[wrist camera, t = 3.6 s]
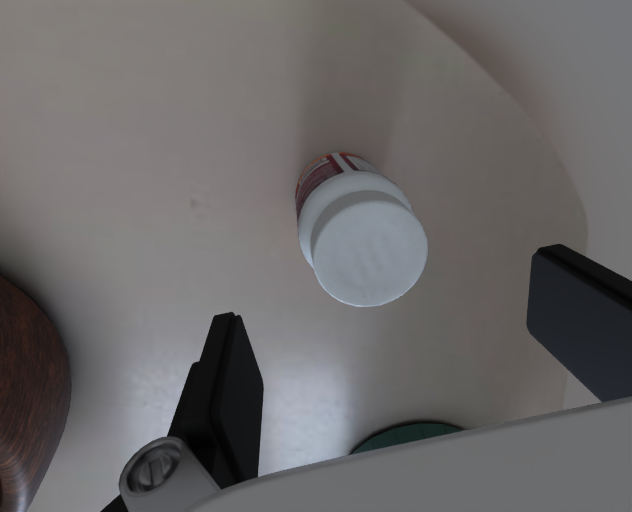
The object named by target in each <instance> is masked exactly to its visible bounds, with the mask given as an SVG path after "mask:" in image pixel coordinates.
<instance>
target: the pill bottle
mask: <svg viewBox="0 0 632 512" xmlns="http://www.w3.org/2000/svg"><path fill="white" fill-rule="evenodd" d="M295 199H296V212H297V223H298V237H299V242H300V246H301V249H302V252H303V254H304V256H305V258H306V259H307V261H308V262H309V264H310V265H311V266H312V267H313V268H314V271H315V275H316V277H317V279H318V281H319V283H320V284H321V285H322V287H323V288H324V289H325V290H326V291H327V292H328V293H329V294H330V295H331V296H332V297H334V298H335V299H337V300H339V301H341V302H343V303H346V304H349V305H353V306H359V307H370V306H377V305H382V304H385V303H388V302H390V301H393V300H395V299H396V298H398V297H400V296H401V295H403V294H404V293H405V292H406V291H408V290H409V289H410V288H411V287H412V286H413V285H414V284H415V282H416V281H417V280H418V278H419V277H420V275H421V273H422V271H423V269H424V266H425V263H426V260H427V254H428V242H427V237H426V234H425V231H424V229H423V227H422V225H421V223H420V222H419V220H418V219H417V218H416V217H415V215H414V214H413V212H412V208H411V206H410V203H409V201H408V199H407V198H406V196H405V195H404V193H403V192H402V191H401V190H400V189H399V187H398V186H397V185H396V184H395V183H393V182H392V181H391V180H389V179H388V178H387V177H386V176H384V175H383V174H382V173H381V172H379V171H378V170H377V169H375V168H374V167H373V166H372V165H370V164H369V163H368V162H367V161H365V160H364V159H362V158H360V157H358V156H356V155H354V154H350V153H345V152H334V153H329V154H326V155H323V156H321V157H318V158H317V159H315V160H314V161H313V162H311V163H310V164H309V165H308V166H307V167H306V169H305V170H304V171H303V173H302V174H301V176H300V178H299V181H298V184H297V188H296V195H295Z"/></svg>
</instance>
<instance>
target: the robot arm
mask: <svg viewBox="0 0 632 512" xmlns="http://www.w3.org/2000/svg"><path fill="white" fill-rule="evenodd" d="M526 324H527V328H528V331H529V332H530V334H531V335H532V336H533V337H534V338H535V339H536V340H537V341H538V342H540V343H541V344H542V345H543V346H544V347H545V348H546V349H547V350H548V351H549V352H550V353H551V354H552V355H553V356H554V357H555V358H556V359H557V360H558V361H559V362H560V363H561V364H563V365H564V366H565V367H566V368H567V369H568V370H569V371H570V372H571V373H572V374H573V375H574V376H575V377H576V378H577V379H578V380H579V381H580V382H581V383H582V384H583V385H584V386H586V387H587V388H588V389H589V390H590V391H591V392H592V393H593V394H594V395H595V396H596V397H597V398H598V399H599V400H600V401H601V402H602V403H597V404H592V405H587V406H582V407H578V408H572V409H567V410H562V411H557V412H552V413H547V414H543V415H538V416H533V417H528V418H523V419H518V420H514V421H509V422H504V423H499V424H494V425H489V426H485V427H480V428H475V429H470V430H465V431H461V432H456V433H451V434H446V435H442V436H437V437H432V438H427V439H423V440H418V441H413V442H409V443H404V444H399V445H395V446H390V447H385V448H381V449H376V450H371V451H367V452H362V453H357V454H353V455H348V456H343V457H339V458H334V459H330V460H326V461H321V462H317V463H313V464H308V465H304V466H300V467H296V468H291V469H287V470H283V471H278V472H275V473H271V474H268V475H264V476H261V477H258V465H259V450H260V436H261V421H262V406H263V391H264V387H263V380H262V376H261V373H260V371H259V368H258V365H257V362H256V359H255V356H254V353H253V350H252V347H251V344H250V341H249V338H248V335H247V332H246V329H245V326H244V323H243V320H242V318H241V316H240V315H237V316H235V314H234V313H233V312H229V313H224V314H219V315H215V316H214V317H213V320H212V323H211V326H210V330H209V333H208V336H207V339H206V342H205V345H204V348H203V352H202V355H201V358H200V361H199V362H195V363H193V364H192V366H191V368H190V371H189V374H188V377H187V380H186V383H185V385H184V388H183V391H182V394H181V397H180V400H179V403H178V406H177V409H176V412H175V415H174V417H173V420H172V423H171V426H170V429H169V432H168V435H167V437H161V438H159V439H156V440H154V441H151V442H150V443H148V444H147V445H145V446H143V447H142V448H141V449H140V450H139V451H138V452H136V453H135V454H134V455H133V456H132V458H131V459H130V460H129V461H128V463H127V464H126V465H125V467H124V469H123V471H122V473H121V475H120V480H119V490H120V495H119V496H118V497H116V498H115V499H114V500H113V501H112V502H111V503H110V504H108V505H107V506H106V507H105V508H104V509H103V510H102V511H101V512H632V281H630V280H629V279H627V278H625V277H623V276H621V275H619V274H617V273H615V272H613V271H612V270H610V269H608V268H606V267H604V266H602V265H600V264H598V263H596V262H594V261H593V260H591V259H589V258H587V257H585V256H583V255H581V254H579V253H577V252H575V251H574V250H572V249H570V248H568V247H566V246H564V245H562V244H555V245H551V246H546V247H541V248H539V249H538V250H537V252H536V253H535V254H534V255H533V256H532V263H531V275H530V286H529V298H528V310H527V321H526Z"/></svg>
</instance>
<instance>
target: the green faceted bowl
mask: <svg viewBox="0 0 632 512" xmlns="http://www.w3.org/2000/svg"><path fill="white" fill-rule="evenodd" d="M461 431H463V430H461V429H457V428H454V427H451V426H448V425H444V424H426V423H419V424H413V425H408V426H403V427H397V428H393V429H391V430H389V431H386V432H384V433H382V434H379V435H377V436H375V437H372V438H371V439H369V440H368V441H367V442H365V443H364V444H363V445H361V446H360V447H359V448H357V449H356V450H355V451H354V452H353V453H352V454H351V455H353V454H357V453H362V452H367V451H371V450H376V449H381V448H385V447H390V446H395V445H399V444H404V443H409V442H413V441H418V440H423V439H427V438H432V437H437V436H442V435H446V434H451V433H456V432H461Z"/></svg>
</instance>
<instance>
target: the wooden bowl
mask: <svg viewBox="0 0 632 512" xmlns="http://www.w3.org/2000/svg"><path fill="white" fill-rule="evenodd" d="M71 387H72V384H71V371H70V364H69V358H68V355H67V352H66V349H65V346H64V344H63V342H62V339H61V338H60V336H59V334H58V332H57V331H56V329H55V327H54V326H53V324H52V323H51V322H50V320H49V319H48V318H47V316H46V315H45V314H44V313H43V312H42V310H41V309H40V308H39V307H38V306H37V305H36V304H35V303H34V302H33V301H32V300H31V299H30V298H29V297H28V296H26V295H25V294H24V293H23V292H22V291H21V290H19V289H18V288H17V287H16V286H14V285H13V284H12V283H10V282H9V281H8V280H6V279H5V278H3V277H1V276H0V512H26V511H27V510H28V508H29V506H30V504H31V502H32V501H33V498H34V496H35V494H36V492H37V490H38V488H39V486H40V484H41V482H42V480H43V478H44V476H45V474H46V472H47V470H48V467H49V465H50V463H51V461H52V458H53V456H54V454H55V452H56V449H57V447H58V445H59V442H60V439H61V437H62V434H63V431H64V428H65V424H66V420H67V416H68V412H69V408H70V399H71Z"/></svg>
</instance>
